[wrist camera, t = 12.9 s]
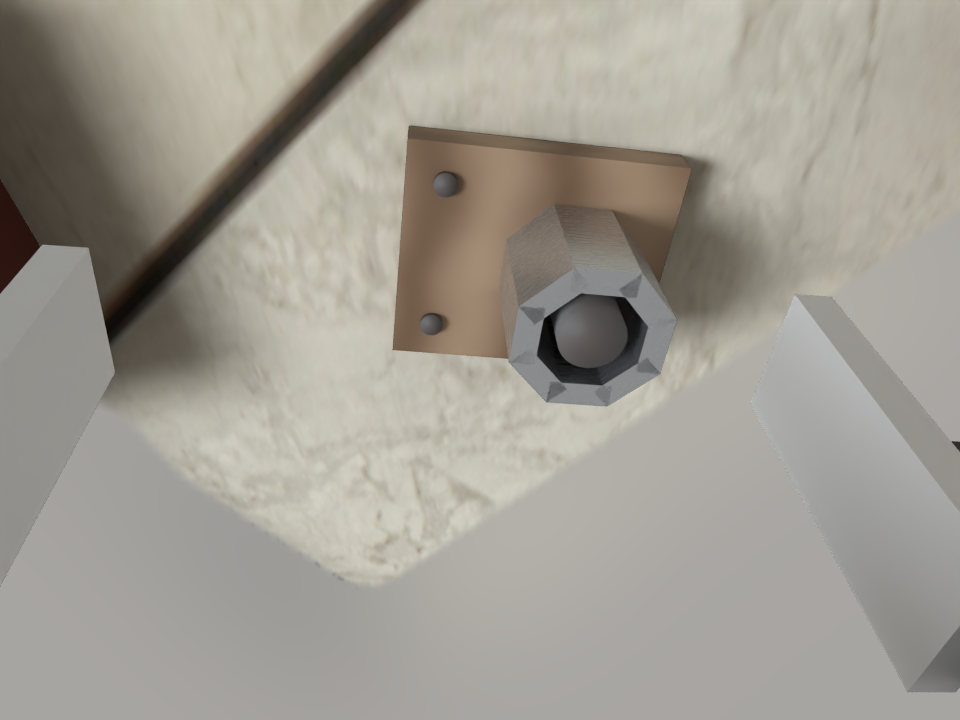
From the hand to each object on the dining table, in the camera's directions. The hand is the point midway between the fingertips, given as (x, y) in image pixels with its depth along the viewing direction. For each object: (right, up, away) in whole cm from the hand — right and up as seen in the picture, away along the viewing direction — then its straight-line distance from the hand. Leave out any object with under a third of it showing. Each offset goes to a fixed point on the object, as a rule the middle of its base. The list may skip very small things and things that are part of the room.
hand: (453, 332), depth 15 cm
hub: (+5, +4, +26) cm, 27 cm away
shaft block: (+3, +6, +27) cm, 28 cm away
